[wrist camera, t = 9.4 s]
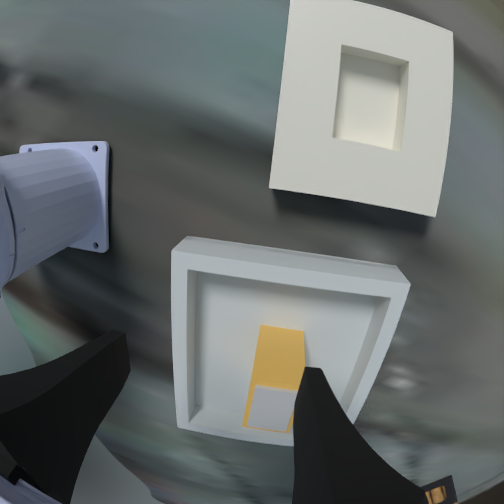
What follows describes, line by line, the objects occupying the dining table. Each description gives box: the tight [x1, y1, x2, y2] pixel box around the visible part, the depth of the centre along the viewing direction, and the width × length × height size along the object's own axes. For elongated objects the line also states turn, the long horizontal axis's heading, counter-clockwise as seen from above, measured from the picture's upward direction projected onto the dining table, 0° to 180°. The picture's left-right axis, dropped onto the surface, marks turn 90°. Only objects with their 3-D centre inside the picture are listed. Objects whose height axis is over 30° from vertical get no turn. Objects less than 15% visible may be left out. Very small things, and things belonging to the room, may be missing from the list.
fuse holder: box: [269, 0, 453, 217], centre depth 15 cm, size 10×12×2 cm
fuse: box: [242, 324, 305, 433], centre depth 19 cm, size 3×4×6 cm, turn 172°
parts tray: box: [171, 236, 411, 446], centre depth 21 cm, size 14×16×3 cm
